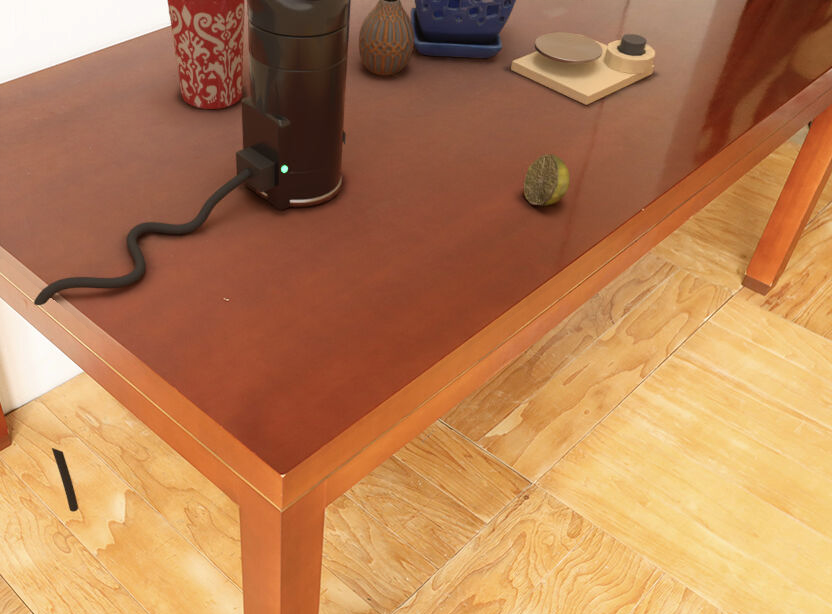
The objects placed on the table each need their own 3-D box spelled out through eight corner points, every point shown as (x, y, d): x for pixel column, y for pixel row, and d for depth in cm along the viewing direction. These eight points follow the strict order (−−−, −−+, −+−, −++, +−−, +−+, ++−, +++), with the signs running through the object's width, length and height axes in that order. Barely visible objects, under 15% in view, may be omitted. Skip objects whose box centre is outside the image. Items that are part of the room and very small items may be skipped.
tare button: (633, 59, 107) (637, 46, 105) (613, 51, 108) (617, 37, 107) (647, 53, 108) (651, 39, 107) (627, 45, 110) (631, 31, 108)
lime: (553, 218, 86) (564, 174, 82) (510, 201, 88) (520, 158, 84) (571, 199, 88) (584, 156, 85) (530, 183, 90) (540, 140, 87)
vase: (411, 59, 111) (419, -11, 105) (410, 83, 106) (418, 11, 100) (358, 55, 111) (363, -15, 105) (355, 79, 106) (359, 7, 100)
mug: (228, 120, 98) (223, 0, 88) (160, 103, 100) (147, -15, 91) (275, 76, 106) (274, -39, 97) (210, 61, 108) (203, -52, 99)
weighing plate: (574, 69, 103) (575, 66, 103) (520, 46, 108) (521, 43, 107) (615, 52, 107) (616, 48, 107) (562, 29, 112) (562, 26, 111)
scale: (589, 106, 103) (595, 83, 101) (510, 69, 110) (514, 46, 107) (657, 74, 110) (664, 51, 108) (579, 41, 116) (584, 19, 114)
